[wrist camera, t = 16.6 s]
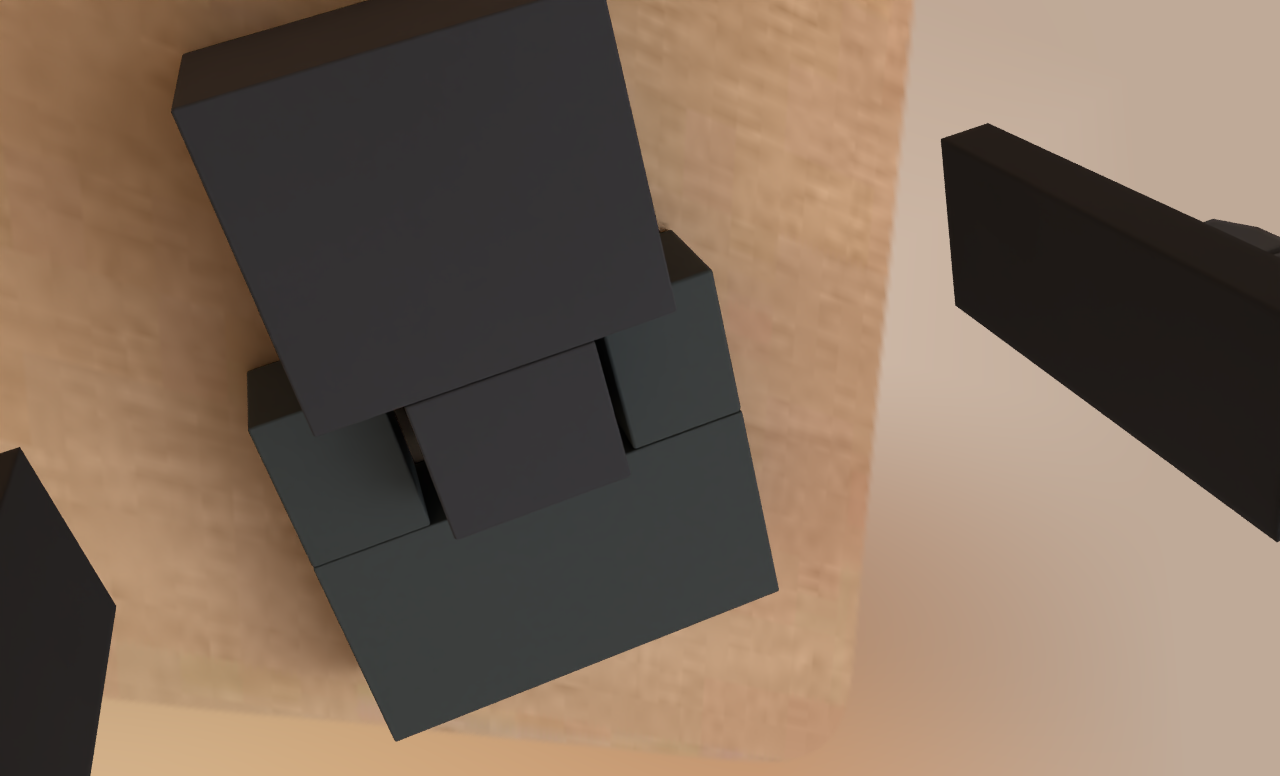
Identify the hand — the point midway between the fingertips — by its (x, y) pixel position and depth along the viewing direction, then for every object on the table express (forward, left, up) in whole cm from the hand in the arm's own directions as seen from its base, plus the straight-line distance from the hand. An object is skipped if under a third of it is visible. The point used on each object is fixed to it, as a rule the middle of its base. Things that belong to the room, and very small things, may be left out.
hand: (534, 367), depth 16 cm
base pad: (0, +9, -12) cm, 15 cm away
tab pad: (0, +2, -12) cm, 12 cm away
